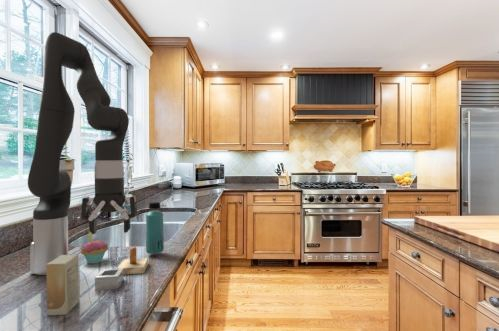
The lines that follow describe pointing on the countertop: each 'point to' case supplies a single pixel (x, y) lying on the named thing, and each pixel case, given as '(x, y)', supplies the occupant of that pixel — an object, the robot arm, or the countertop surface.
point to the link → (109, 279)
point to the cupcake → (94, 250)
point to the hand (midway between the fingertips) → (110, 232)
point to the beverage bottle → (154, 230)
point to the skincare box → (62, 284)
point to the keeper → (133, 263)
